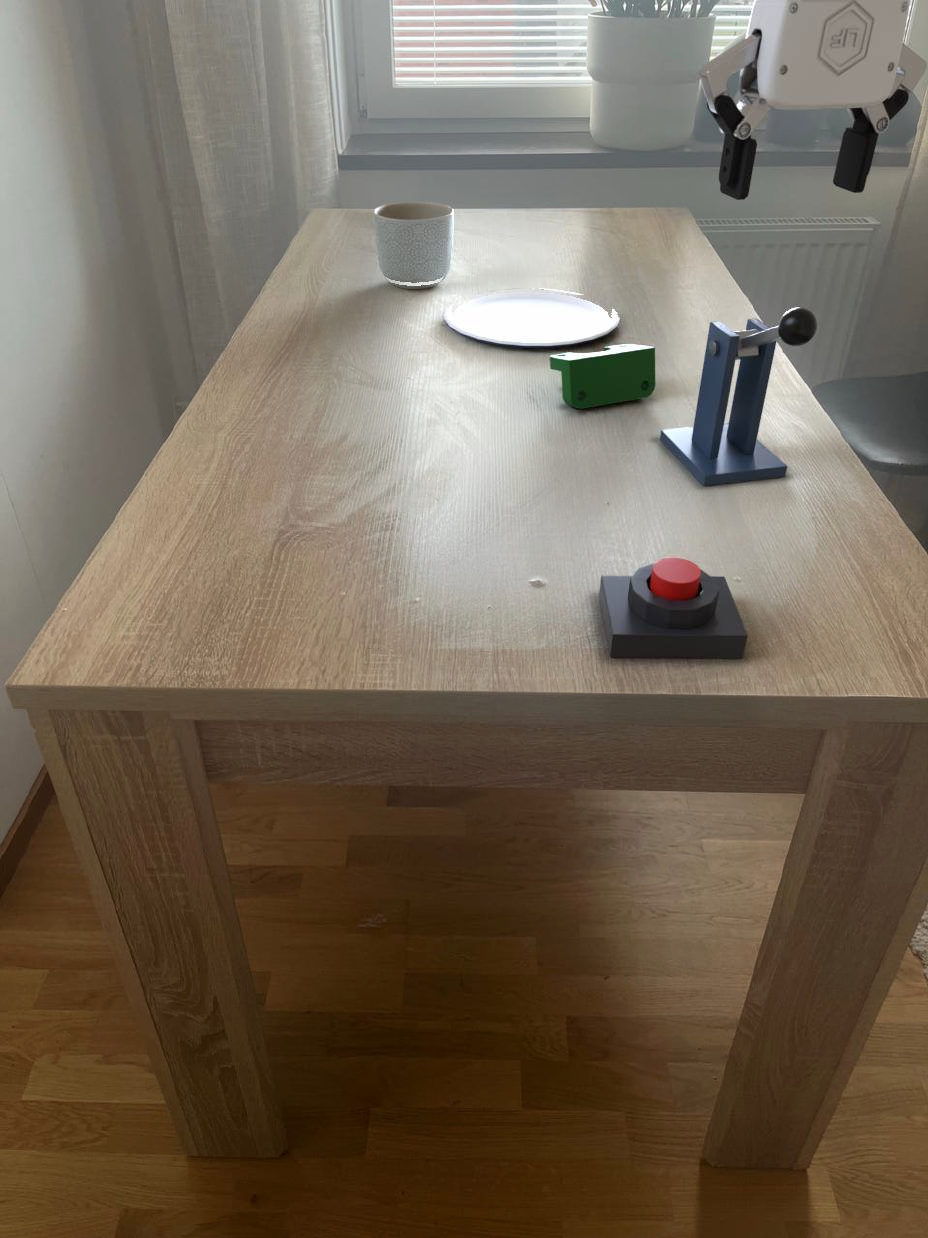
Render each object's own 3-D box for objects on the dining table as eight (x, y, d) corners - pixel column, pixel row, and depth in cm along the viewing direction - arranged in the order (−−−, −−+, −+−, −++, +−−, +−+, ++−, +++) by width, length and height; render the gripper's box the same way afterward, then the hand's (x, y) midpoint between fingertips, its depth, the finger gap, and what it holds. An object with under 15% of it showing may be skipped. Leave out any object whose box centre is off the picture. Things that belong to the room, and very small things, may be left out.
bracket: (785, 476, 93) (816, 342, 85) (703, 486, 92) (726, 350, 84) (735, 431, 102) (759, 306, 94) (659, 439, 100) (676, 312, 92)
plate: (409, 316, 134) (409, 307, 133) (539, 285, 146) (539, 277, 145) (520, 367, 118) (521, 357, 117) (656, 327, 130) (657, 318, 129)
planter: (365, 277, 149) (361, 205, 143) (435, 268, 154) (434, 198, 147) (393, 299, 140) (390, 223, 134) (467, 288, 145) (467, 214, 138)
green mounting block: (616, 420, 115) (639, 347, 113) (641, 427, 110) (667, 351, 107) (533, 395, 110) (557, 318, 107) (556, 401, 104) (581, 320, 102)
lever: (825, 341, 79) (823, 302, 79) (791, 344, 78) (789, 305, 78) (749, 362, 92) (747, 329, 91) (719, 365, 91) (717, 332, 91)
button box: (720, 598, 76) (728, 557, 74) (742, 658, 69) (752, 615, 67) (598, 597, 76) (603, 556, 74) (609, 657, 69) (614, 614, 67)
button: (692, 576, 72) (696, 557, 71) (701, 602, 69) (705, 583, 68) (646, 576, 72) (649, 556, 71) (653, 602, 69) (656, 583, 68)
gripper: (755, -97, 55) (709, 210, 65) (1001, -94, 59) (921, 197, 69) (699, -93, 61) (664, 187, 71) (925, -91, 64) (862, 176, 75)
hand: (791, 192), depth 70 cm, fingers open, 9 cm apart
